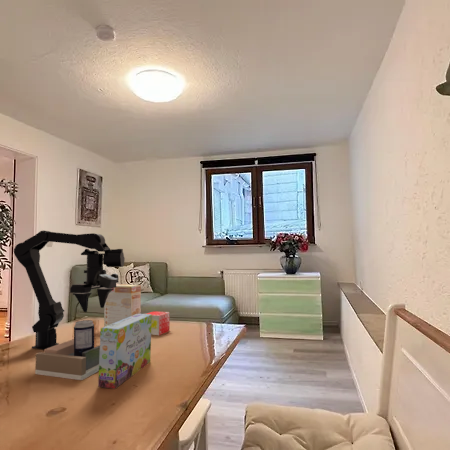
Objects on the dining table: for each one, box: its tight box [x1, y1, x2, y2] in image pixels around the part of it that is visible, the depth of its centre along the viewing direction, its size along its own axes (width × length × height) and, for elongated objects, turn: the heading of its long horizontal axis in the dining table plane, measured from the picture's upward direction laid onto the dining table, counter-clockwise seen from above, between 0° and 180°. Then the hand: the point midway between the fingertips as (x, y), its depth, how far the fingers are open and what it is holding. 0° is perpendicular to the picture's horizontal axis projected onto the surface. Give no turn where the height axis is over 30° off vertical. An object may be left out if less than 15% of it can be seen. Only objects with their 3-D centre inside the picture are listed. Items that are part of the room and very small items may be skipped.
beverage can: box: [73, 319, 95, 357], centre depth 102 cm, size 6×6×12 cm
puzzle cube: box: [146, 310, 171, 336], centre depth 143 cm, size 8×8×8 cm
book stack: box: [43, 338, 74, 356], centre depth 103 cm, size 4×13×5 cm, turn 162°
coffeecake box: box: [103, 283, 142, 327], centre depth 149 cm, size 15×7×20 cm, turn 66°
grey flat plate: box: [82, 344, 100, 370], centre depth 100 cm, size 1×12×5 cm, turn 162°
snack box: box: [97, 313, 152, 390], centre depth 96 cm, size 21×6×15 cm, turn 168°
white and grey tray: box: [35, 351, 99, 381], centre depth 102 cm, size 16×18×6 cm
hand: (94, 309), depth 124 cm, fingers open, 9 cm apart
